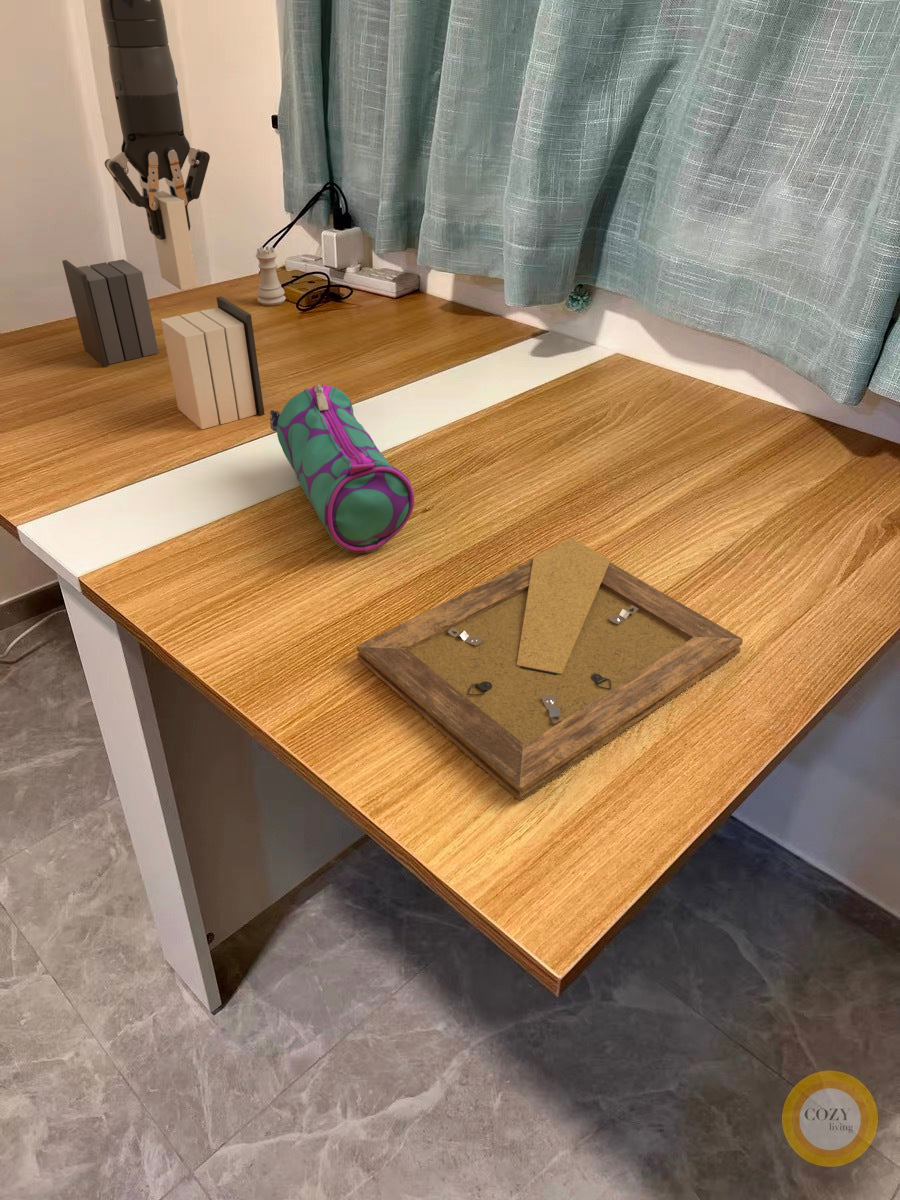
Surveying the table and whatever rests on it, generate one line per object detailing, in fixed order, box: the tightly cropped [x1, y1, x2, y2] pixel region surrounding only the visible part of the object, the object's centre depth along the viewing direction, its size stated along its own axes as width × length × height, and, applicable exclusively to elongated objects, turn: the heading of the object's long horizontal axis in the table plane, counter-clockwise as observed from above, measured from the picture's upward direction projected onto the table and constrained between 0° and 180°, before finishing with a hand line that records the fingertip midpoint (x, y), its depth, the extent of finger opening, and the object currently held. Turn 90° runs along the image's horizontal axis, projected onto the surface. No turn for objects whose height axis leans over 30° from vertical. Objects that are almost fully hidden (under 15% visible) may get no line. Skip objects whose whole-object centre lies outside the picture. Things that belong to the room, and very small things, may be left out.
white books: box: [160, 296, 265, 431], centre depth 103 cm, size 8×8×12 cm
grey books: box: [61, 258, 160, 368], centre depth 119 cm, size 8×8×12 cm
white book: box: [153, 190, 199, 291], centre depth 119 cm, size 2×7×11 cm, turn 36°
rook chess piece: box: [255, 246, 287, 307], centre depth 137 cm, size 4×4×8 cm
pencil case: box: [269, 384, 415, 554], centre depth 86 cm, size 21×9×10 cm, turn 22°
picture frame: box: [356, 537, 744, 802], centre depth 69 cm, size 19×2×24 cm
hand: (171, 236), depth 119 cm, fingers closed on white book, 2 cm apart
